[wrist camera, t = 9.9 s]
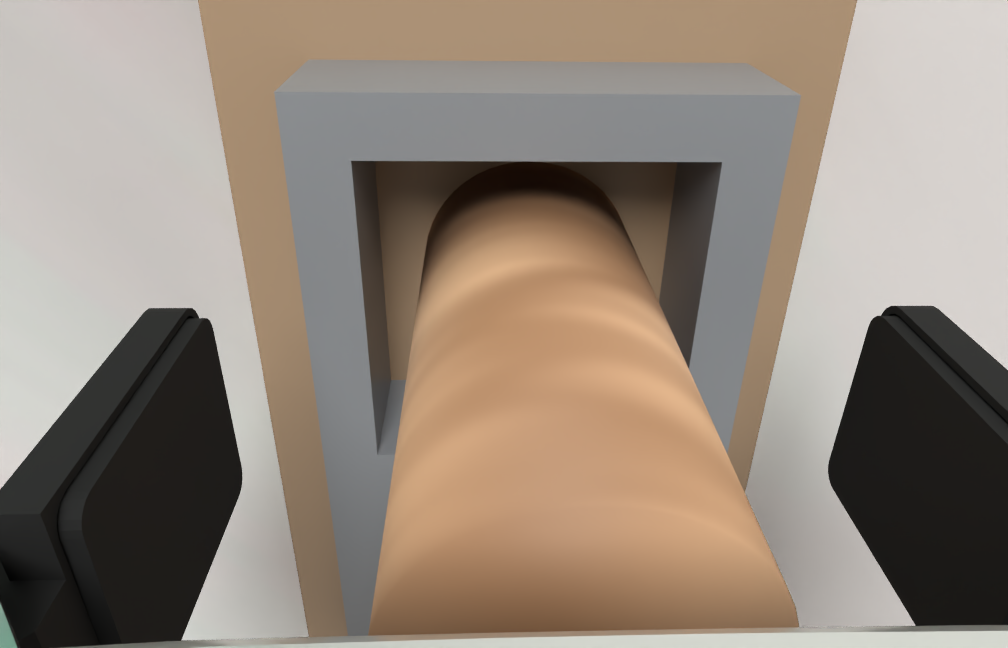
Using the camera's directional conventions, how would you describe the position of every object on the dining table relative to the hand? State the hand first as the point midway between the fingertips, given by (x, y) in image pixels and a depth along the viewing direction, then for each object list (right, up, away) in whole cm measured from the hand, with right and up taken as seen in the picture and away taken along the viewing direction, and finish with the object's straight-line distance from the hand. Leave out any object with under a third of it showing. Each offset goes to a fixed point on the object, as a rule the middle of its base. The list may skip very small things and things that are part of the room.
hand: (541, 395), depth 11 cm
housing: (0, 0, +7) cm, 7 cm away
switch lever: (0, +2, +4) cm, 5 cm away
